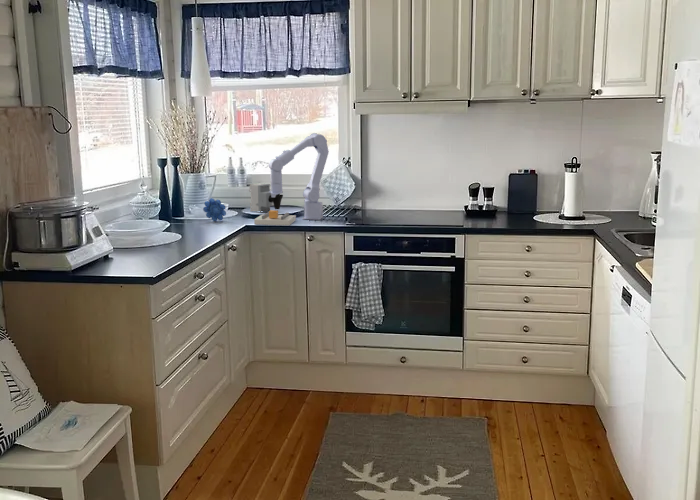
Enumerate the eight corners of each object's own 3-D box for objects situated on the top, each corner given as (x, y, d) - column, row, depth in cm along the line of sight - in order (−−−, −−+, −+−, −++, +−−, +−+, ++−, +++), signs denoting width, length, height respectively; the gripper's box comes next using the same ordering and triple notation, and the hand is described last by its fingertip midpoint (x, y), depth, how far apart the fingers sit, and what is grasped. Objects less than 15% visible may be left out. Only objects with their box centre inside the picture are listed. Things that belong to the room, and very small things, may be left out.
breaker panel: (295, 220, 372) (295, 212, 371) (289, 225, 358) (289, 217, 357) (262, 219, 374) (262, 211, 373) (254, 224, 361) (254, 216, 360)
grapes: (205, 223, 363) (203, 200, 361) (203, 221, 370) (201, 198, 367) (227, 221, 367) (226, 198, 364) (225, 219, 373) (224, 196, 370)
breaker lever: (278, 217, 364) (278, 210, 363) (276, 218, 361) (276, 211, 360) (270, 217, 364) (270, 210, 364) (269, 218, 362) (268, 211, 361)
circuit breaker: (268, 214, 388) (268, 186, 385) (250, 211, 397) (249, 184, 393) (278, 212, 394) (277, 185, 391) (259, 209, 402) (258, 182, 399)
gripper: (272, 180, 373) (273, 206, 376) (264, 184, 359) (265, 211, 362) (285, 180, 372) (286, 206, 375) (278, 185, 358) (279, 211, 361)
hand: (277, 209), depth 368 cm, fingers closed
